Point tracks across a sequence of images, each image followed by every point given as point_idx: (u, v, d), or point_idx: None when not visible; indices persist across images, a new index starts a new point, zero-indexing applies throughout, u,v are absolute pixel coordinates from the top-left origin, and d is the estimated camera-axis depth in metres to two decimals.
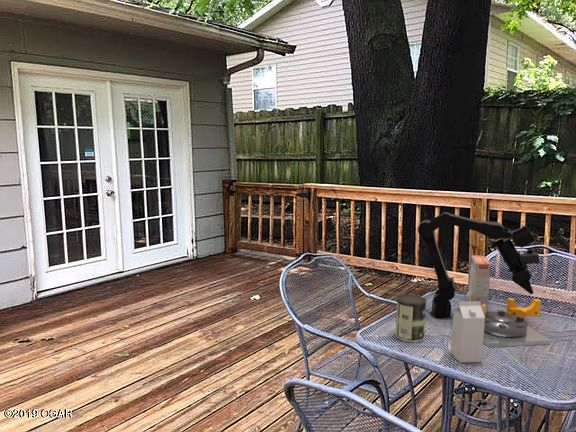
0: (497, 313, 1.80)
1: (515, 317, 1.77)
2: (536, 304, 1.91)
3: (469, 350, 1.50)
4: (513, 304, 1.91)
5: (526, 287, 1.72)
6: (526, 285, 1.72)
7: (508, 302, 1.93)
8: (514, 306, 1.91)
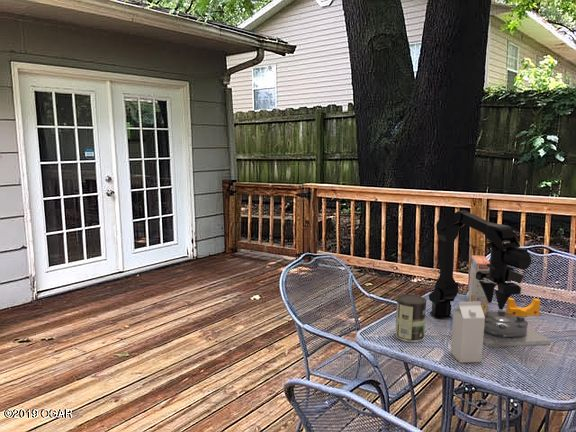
0: (497, 313, 1.80)
1: (515, 317, 1.77)
2: (535, 303, 1.91)
3: (469, 350, 1.50)
4: (513, 304, 1.92)
5: (501, 301, 1.60)
6: (503, 299, 1.60)
7: (508, 302, 1.93)
8: (514, 306, 1.92)
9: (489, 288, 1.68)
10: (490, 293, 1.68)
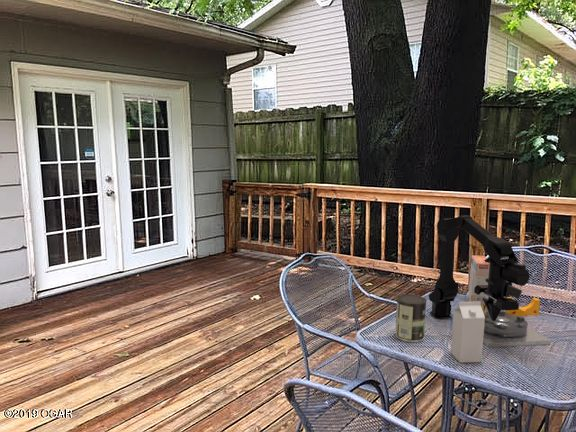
0: None
1: (515, 317, 1.77)
2: (535, 303, 1.92)
3: (469, 350, 1.50)
4: None
5: (494, 313, 1.64)
6: (496, 311, 1.64)
7: None
8: None
9: None
10: None
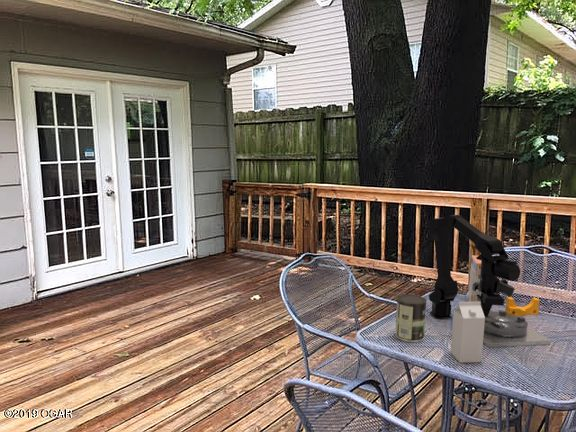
0: (498, 313, 1.80)
1: (516, 317, 1.76)
2: (535, 303, 1.92)
3: (469, 350, 1.50)
4: (512, 303, 1.93)
5: (485, 308, 1.69)
6: (486, 307, 1.68)
7: (507, 301, 1.94)
8: (513, 305, 1.93)
9: None
10: None
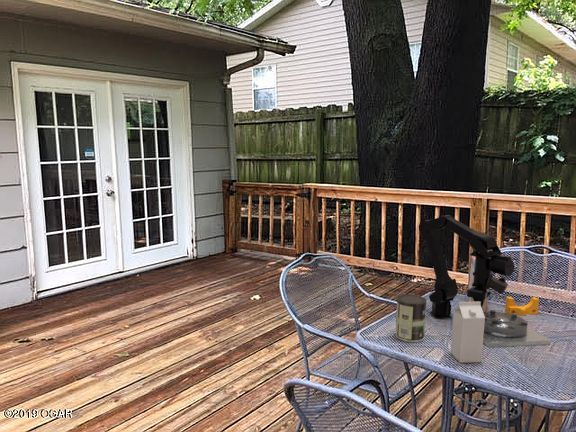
0: (509, 315, 1.79)
1: (521, 321, 1.73)
2: (534, 302, 1.93)
3: (469, 350, 1.50)
4: (512, 303, 1.93)
5: None
6: (479, 301, 1.73)
7: (507, 301, 1.94)
8: (513, 304, 1.93)
9: None
10: None
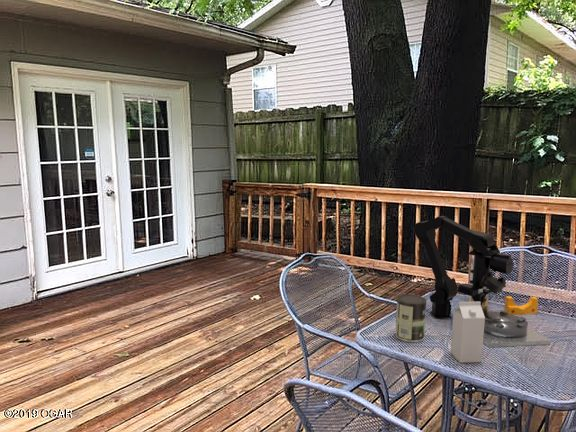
0: (517, 318, 1.76)
1: None
2: (533, 302, 1.93)
3: (469, 350, 1.50)
4: (511, 302, 1.94)
5: (475, 300, 1.77)
6: (476, 299, 1.77)
7: (506, 300, 1.95)
8: (512, 304, 1.94)
9: None
10: None
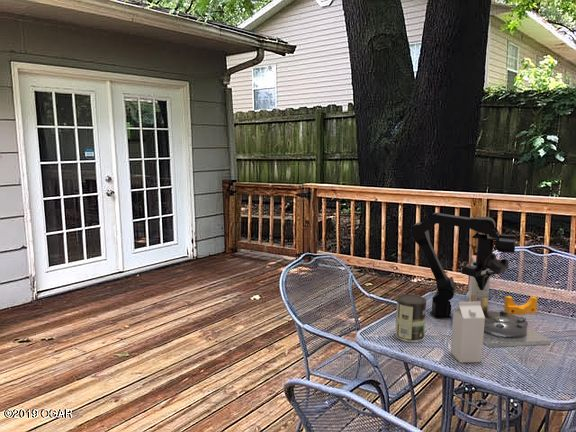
0: (517, 318, 1.76)
1: None
2: (533, 301, 1.94)
3: (469, 350, 1.50)
4: (511, 302, 1.94)
5: (478, 282, 1.81)
6: (479, 280, 1.81)
7: (506, 300, 1.95)
8: (512, 304, 1.94)
9: None
10: None
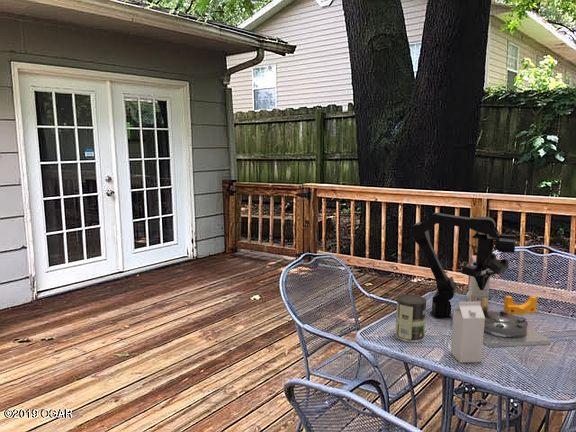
0: (517, 318, 1.76)
1: None
2: (533, 301, 1.94)
3: (469, 350, 1.50)
4: (511, 302, 1.94)
5: (478, 282, 1.81)
6: (479, 280, 1.81)
7: (506, 300, 1.96)
8: (512, 303, 1.94)
9: None
10: None
